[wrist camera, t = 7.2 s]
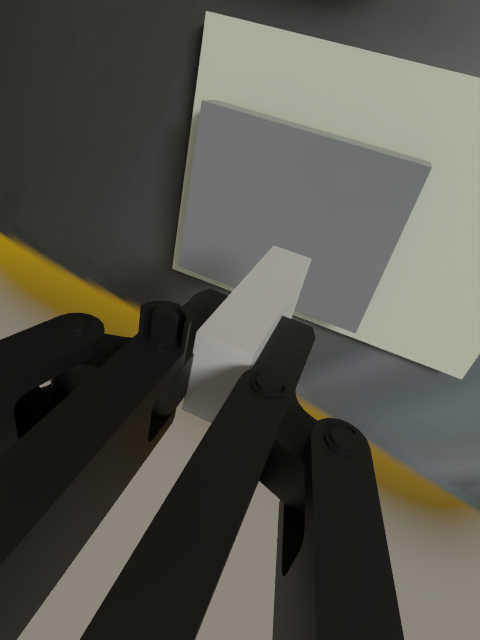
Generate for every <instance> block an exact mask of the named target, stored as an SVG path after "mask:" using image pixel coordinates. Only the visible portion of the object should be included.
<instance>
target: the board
mask: <svg viewBox="0 0 480 640" xmlns="http://www.w3.org/2000/svg"><path fill="white" fill-rule="evenodd" d="M202 100H218V101H222V102H225V103H228V104H232V105H235V106H239V107H242V108H246V109H249V110H253V111H256V112H260V113H263V114H267V115H270V116H273V117H277V118H280V119H284V120H287V121H291V122H294V123H298V124H301V125H305V126H308V127H312V128H315V129H318V130H322V131H325V132H329V133H332V134H336V135H339V136H343V137H346V138H350V139H353V140H357V141H360V142H364V143H367V144H370V145H374V146H377V147H381V148H384V149H388V150H391V151H395V152H398V153H402V154H405V155H409V156H412V157H415V158H419V159H422V160H426V161H429V162H431V165H432V169H431V171H430V173H429V175H428V177H427V179H426V182H425V184H424V186H423V188H422V190H421V192H420V195H419V197H418V199H417V201H416V203H415V206H414V208H413V210H412V212H411V214H410V216H409V219H408V221H407V223H406V225H405V227H404V229H403V232H402V234H401V236H400V238H399V240H398V242H397V245H396V247H395V249H394V251H393V253H392V255H391V258H390V260H389V262H388V264H387V266H386V269H385V271H384V273H383V275H382V277H381V279H380V282H379V284H378V286H377V288H376V290H375V292H374V295H373V297H372V299H371V301H370V303H369V305H368V308H367V310H366V312H365V314H364V316H363V318H362V321H361V323H360V325H359V327H358V329H357V332H356V334H355V333H353V332H350V331H347V330H345V329H342V328H340V327H337V326H334V325H332V324H329V323H326V322H324V321H321V320H318V319H316V318H313V317H311V316H308V315H305V314H303V313H300V312H297V311H295V310H294V312H293V315H295V316H297V317H300V318H302V319H305V320H308V321H310V322H313V323H316V324H318V325H321V326H323V327H326V328H329V329H331V330H334V331H336V332H339V333H342V334H344V335H347V336H350V337H352V338H355V339H357V340H360V341H363V342H365V343H368V344H370V345H373V346H376V347H378V348H381V349H384V350H386V351H389V352H391V353H394V354H397V355H399V356H402V357H404V358H407V359H410V360H412V361H415V362H417V363H420V364H423V365H425V366H428V367H431V368H433V369H436V370H438V371H441V372H444V373H446V374H449V375H451V376H454V377H457V378H459V379H462V378H463V377H464V375H465V374H466V373H467V371H468V370H469V368H470V367H471V365H472V364H473V362H474V361H475V360H476V358H477V357H478V355H479V354H480V78H478V77H473V76H469V75H465V74H461V73H457V72H453V71H449V70H445V69H441V68H437V67H433V66H429V65H425V64H420V63H416V62H412V61H408V60H404V59H400V58H396V57H392V56H388V55H384V54H380V53H376V52H371V51H367V50H363V49H359V48H355V47H351V46H347V45H343V44H339V43H335V42H331V41H327V40H323V39H318V38H314V37H310V36H306V35H302V34H298V33H294V32H290V31H286V30H282V29H278V28H274V27H269V26H265V25H261V24H257V23H253V22H249V21H245V20H241V19H237V18H233V17H229V16H225V15H220V14H216V13H212V12H208V11H206V16H205V24H204V31H203V39H202V47H201V54H200V62H199V69H198V77H197V85H196V92H195V100H194V107H193V115H192V123H191V130H190V138H189V145H188V153H187V161H186V168H185V176H184V183H183V191H182V199H181V206H180V214H179V221H178V229H177V237H176V244H175V252H174V259H173V267H172V269H174V270H177V271H180V272H182V273H185V274H188V275H190V276H193V277H195V278H198V279H201V280H203V281H206V282H208V283H211V284H214V285H216V286H219V287H221V288H224V289H227V290H229V291H233V290H234V289H235V288H234V287H232V286H229V285H226V284H224V283H221V282H219V281H216V280H213V279H211V278H208V277H205V276H203V275H200V274H197V273H195V272H192V271H190V270H187V269H184V268H182V267H179V266H178V265H179V258H180V251H181V244H182V237H183V230H184V223H185V216H186V208H187V201H188V194H189V187H190V180H191V173H192V166H193V159H194V151H195V144H196V137H197V130H198V123H199V116H200V109H201V102H202Z"/></svg>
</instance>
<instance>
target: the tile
mask: <svg viewBox="0 0 480 640" xmlns="http://www.w3.org/2000/svg"><path fill="white" fill-rule="evenodd" d="M431 169H432V165H431V162H429V161H426V160H422V159H419V158H415V157H412V156H409V155H405V154H402V153H398V152H395V151H391V150H388V149H384V148H381V147H377V146H374V145H370V144H367V143H364V142H360V141H357V140H353V139H350V138H346V137H343V136H339V135H336V134H332V133H329V132H325V131H322V130H318V129H315V128H312V127H308V126H305V125H301V124H298V123H294V122H291V121H287V120H284V119H280V118H277V117H273V116H270V115H267V114H263V113H260V112H256V111H253V110H249V109H246V108H242V107H239V106H235V105H232V104H228V103H225V102H222V101H218V100H202V102H201V109H200V116H199V123H198V130H197V137H196V144H195V151H194V159H193V166H192V173H191V180H190V187H189V194H188V201H187V208H186V216H185V223H184V230H183V237H182V244H181V251H180V258H179V265H178V266H179V267H182V268H184V269H187V270H190V271H192V272H195V273H197V274H200V275H203V276H205V277H208V278H211V279H213V280H216V281H219V282H221V283H224V284H226V285H229V286H232V287H234V288H236V287H237V286H238V285H239V284H240V282H241V281H242V280H243V279H244V278H245V277H246V276H247V275H248V274H249V272H250V271H251V270H252V269H253V268H254V267H255V266H256V265H257V263H258V262H259V261H260V260H261V259H262V258H263V257H264V256H265V254H266V253H267V252H268V251H269V250H270V249H271V248H272V247H273V246H277V247H280V248H283V249H286V250H288V251H291V252H294V253H297V254H300V255H303V256H305V257H308V258H311V259H312V260H311V263H310V265H309V268H308V271H307V274H306V277H305V280H304V283H303V286H302V289H301V292H300V295H299V298H298V301H297V304H296V306H295V309H294V310H295V311H297V312H300V313H303V314H305V315H308V316H311V317H313V318H316V319H318V320H321V321H324V322H326V323H329V324H332V325H334V326H337V327H340V328H342V329H345V330H347V331H350V332H353V333H355V334H356V332H357V329H358V327H359V325H360V323H361V321H362V318H363V316H364V314H365V312H366V310H367V308H368V305H369V303H370V301H371V299H372V297H373V295H374V292H375V290H376V288H377V286H378V284H379V282H380V279H381V277H382V275H383V273H384V271H385V269H386V266H387V264H388V262H389V260H390V258H391V255H392V253H393V251H394V249H395V247H396V245H397V242H398V240H399V238H400V236H401V234H402V232H403V229H404V227H405V225H406V223H407V221H408V219H409V216H410V214H411V212H412V210H413V208H414V206H415V203H416V201H417V199H418V197H419V195H420V192H421V190H422V188H423V186H424V184H425V182H426V179H427V177H428V175H429V173H430V171H431Z"/></svg>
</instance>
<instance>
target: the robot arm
mask: <svg viewBox="0 0 480 640" xmlns="http://www.w3.org/2000/svg"><path fill="white" fill-rule="evenodd" d="M311 260H312V259H311V258H308V257H305V256H303V255H300V254H297V253H294V252H291V251H288V250H286V249H283V248H280V247H277V246H273V247H272V248H271V249H270V250H269V251H268V252H267V253H266V254H265V256H264V257H263V258H262V259H261V260H260V261H259V262H258V263H257V265H256V266H255V267H254V268H253V269H252V270H251V271H250V272H249V274H248V275H247V276H246V277H245V278H244V279H243V280H242V281H241V282H240V284H239V285H238V286H237V287H236V288H235V289H234V290H233V291H232V293H231V294H230V295H229V296H227V295H225V294H222V293H220V292H217V291H214V290H212V289H207V290H204V291H201V292H199V293H197V294H195V295H194V296H193V297H192V298H191V299H190V300H189V302H187V303H186V304H185V305H184V306H183V307H182V306H180V305H179V304H176V303H172V302H169V301H153V302H148V303H146V304H144V305H142V306H141V309H140V321H139V332H138V334H137V335H135V336H134V337H133V338H130V337H121V336H116V335H109V334H104V325H103V323H102V322H101V321H100V320H99V319H98V318H96V317H94V316H92V315H89V314H84V313H68V314H65V315H61V316H58V317H55V318H53V319H51V320H48V321H46V322H43V323H41V324H38V325H36V326H34V327H31V328H29V329H26V330H23V331H21V332H19V333H16V334H14V335H11V336H9V337H6V338H4V339H1V340H0V640H17V638H18V637H19V636H20V634H21V633H22V631H23V630H24V628H25V627H26V626H27V624H28V623H29V622H30V620H31V619H32V617H33V616H34V614H35V613H36V612H37V610H38V609H39V608H40V606H41V605H42V604H43V602H44V601H45V599H46V598H47V596H48V595H49V594H50V592H51V591H52V590H53V588H54V587H55V585H56V584H57V583H58V581H59V580H60V578H61V577H62V576H63V574H64V573H65V571H66V570H67V569H68V567H69V566H70V565H71V563H72V562H73V560H74V559H75V558H76V556H77V555H78V553H79V552H80V551H81V549H82V548H83V546H84V545H85V544H86V542H87V541H88V539H89V538H90V536H91V535H92V534H93V533H94V531H95V530H96V528H97V527H98V526H99V524H100V523H101V521H102V520H103V519H104V517H105V516H106V514H107V513H108V512H109V510H110V509H111V507H112V506H113V505H114V503H115V502H116V500H117V499H118V498H119V496H120V495H121V493H122V492H123V491H124V489H125V488H126V487H127V485H128V484H129V482H130V481H131V480H132V478H133V477H134V475H135V474H136V473H137V471H138V470H139V468H140V467H141V466H142V464H143V463H144V461H145V460H146V459H147V457H148V456H149V454H150V453H151V452H152V450H153V449H154V447H155V446H156V445H157V443H158V442H159V441H160V439H161V438H162V436H163V435H164V434H165V432H166V431H167V429H168V428H169V426H170V425H171V424H172V422H173V419H174V417H175V413H176V407H177V406H178V405H179V403H180V402H181V401H182V399H183V398H184V402H183V407H182V410H185V411H187V412H189V413H191V414H193V415H195V416H198V417H200V418H202V419H204V420H207V421H209V422H211V423H212V424H211V425H210V427H209V429H208V430H207V432H206V434H205V435H204V437H203V439H202V440H201V442H200V443H199V445H198V447H197V448H196V450H195V452H194V453H193V455H192V456H191V458H190V460H189V461H188V463H187V465H186V466H185V468H184V470H183V471H182V473H181V475H180V476H179V478H178V479H177V481H176V483H175V484H174V486H173V488H172V490H171V491H170V493H169V494H168V496H167V497H166V499H165V501H164V502H163V504H162V506H161V508H160V509H159V511H158V512H157V514H156V516H155V517H154V519H153V520H152V522H151V524H150V525H149V527H148V529H147V530H146V532H145V534H144V535H143V537H142V539H141V540H140V542H139V544H138V545H137V547H136V548H135V550H134V552H133V554H132V555H131V557H130V559H129V560H128V562H127V563H126V565H125V566H124V568H123V570H122V572H121V573H120V575H119V576H118V578H117V580H116V581H115V583H114V585H113V586H112V588H111V589H110V591H109V593H108V594H107V596H106V598H105V599H104V601H103V602H102V604H101V606H100V607H99V609H98V611H97V612H96V614H95V616H94V617H93V619H92V621H91V622H90V624H89V625H88V627H87V629H86V630H85V632H84V634H83V636H82V637H81V639H80V640H195V639H196V636H197V634H198V631H199V628H200V626H201V624H202V621H203V618H204V616H205V614H206V611H207V608H208V606H209V604H210V601H211V599H212V596H213V594H214V591H215V589H216V586H217V584H218V581H219V578H220V576H221V574H222V571H223V569H224V566H225V564H226V561H227V559H228V556H229V554H230V551H231V549H232V546H233V544H234V541H235V539H236V536H237V534H238V531H239V529H240V526H241V524H242V521H243V519H244V516H245V514H246V512H247V509H248V507H249V504H250V501H251V499H252V497H253V494H254V492H255V489H256V487H257V484H258V482H259V481H260V482H261V483H262V484H264V485H265V486H266V487H267V488H268V489H269V490H270V491H271V492H272V493H274V494H275V495H276V496H277V497H278V498H279V499H280V502H279V519H278V538H277V559H276V579H275V600H274V619H273V640H404V636H403V630H402V625H401V619H400V614H399V608H398V602H397V597H396V591H395V586H394V580H393V574H392V568H391V563H390V557H389V551H388V546H387V541H386V534H385V529H384V523H383V517H382V512H381V506H380V500H379V496H378V489H377V484H376V478H375V472H374V467H373V461H372V456H371V450H370V447H369V444H368V441H367V439H366V438H365V437H364V435H363V434H362V433H361V432H360V431H359V430H358V429H357V428H356V427H354V426H353V425H351V424H350V423H348V422H345V421H343V420H340V419H336V418H325V419H321V420H319V421H317V420H316V419H314V418H313V417H311V416H310V415H309V414H308V413H307V412H305V410H304V409H303V408H302V407H301V405H300V404H299V402H298V400H297V398H296V393H295V390H296V386H297V383H298V381H299V378H300V376H301V373H302V371H303V368H304V366H305V363H306V361H307V358H308V356H309V353H310V350H311V348H312V345H313V343H314V340H315V335H314V331H313V327H311V326H308V325H306V324H303V323H300V322H298V321H295V320H293V319H291V318H292V315H293V312H294V309H295V306H296V304H297V301H298V298H299V295H300V292H301V289H302V286H303V283H304V280H305V277H306V274H307V271H308V268H309V265H310V263H311ZM49 380H51V384H50V385H48V386H45V387H42V388H40V387H39V385H41V384H43V383H45V382H47V381H49Z"/></svg>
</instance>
